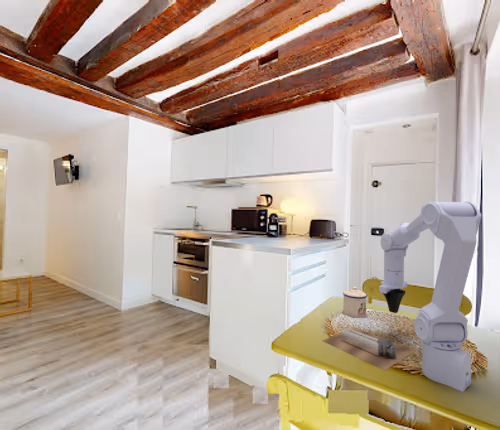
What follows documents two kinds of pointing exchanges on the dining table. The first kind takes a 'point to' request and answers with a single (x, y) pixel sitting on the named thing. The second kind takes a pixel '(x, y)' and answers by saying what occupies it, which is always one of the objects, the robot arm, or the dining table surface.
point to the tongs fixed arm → (365, 342)
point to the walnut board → (369, 357)
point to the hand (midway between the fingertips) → (393, 312)
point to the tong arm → (386, 351)
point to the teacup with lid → (354, 303)
